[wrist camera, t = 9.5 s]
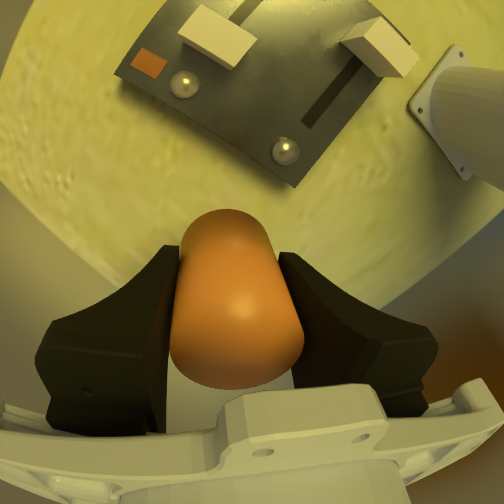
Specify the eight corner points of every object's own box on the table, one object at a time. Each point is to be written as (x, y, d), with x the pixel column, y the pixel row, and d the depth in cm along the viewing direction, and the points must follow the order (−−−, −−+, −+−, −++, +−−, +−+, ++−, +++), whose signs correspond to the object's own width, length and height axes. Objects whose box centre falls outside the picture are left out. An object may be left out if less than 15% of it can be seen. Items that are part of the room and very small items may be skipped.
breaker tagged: (249, 46, 14) (257, 38, 12) (230, 71, 15) (234, 67, 12) (202, 17, 13) (200, 4, 10) (182, 42, 14) (177, 32, 11)
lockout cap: (287, 239, 14) (330, 332, 9) (235, 299, 15) (250, 400, 10) (214, 191, 13) (219, 273, 7) (164, 261, 14) (146, 363, 9)
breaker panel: (395, 45, 16) (414, 43, 14) (287, 179, 21) (296, 190, 19) (246, -68, 11) (251, -83, 9) (122, 75, 16) (111, 73, 14)
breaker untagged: (392, 58, 15) (419, 57, 12) (377, 76, 16) (403, 77, 13) (356, 23, 14) (380, 16, 11) (340, 41, 14) (363, 36, 12)
